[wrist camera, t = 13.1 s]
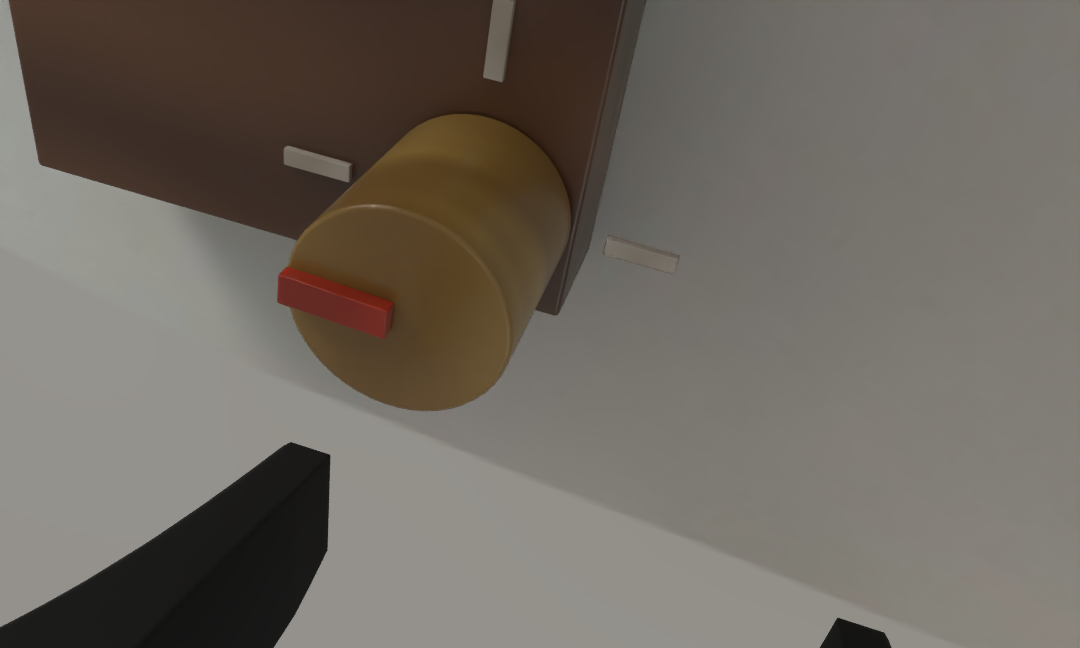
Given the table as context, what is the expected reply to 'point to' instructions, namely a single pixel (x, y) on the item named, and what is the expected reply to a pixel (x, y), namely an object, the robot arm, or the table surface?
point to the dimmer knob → (431, 263)
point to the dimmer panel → (321, 97)
